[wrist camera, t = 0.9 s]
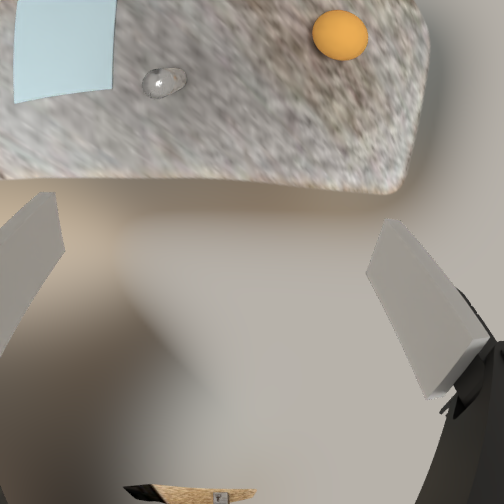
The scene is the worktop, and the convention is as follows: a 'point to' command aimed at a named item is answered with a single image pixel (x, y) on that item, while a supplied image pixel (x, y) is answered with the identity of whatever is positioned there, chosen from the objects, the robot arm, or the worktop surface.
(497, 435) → the robot arm
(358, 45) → the ball
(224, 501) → the coffee box
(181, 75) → the post
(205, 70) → the worktop surface
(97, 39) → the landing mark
